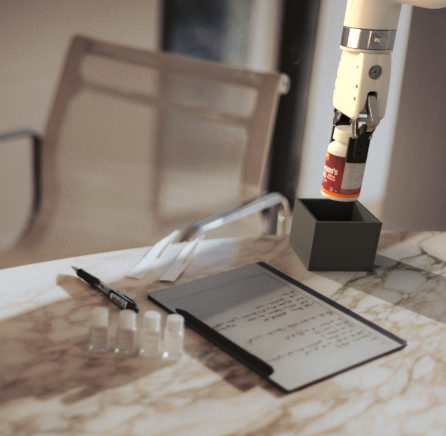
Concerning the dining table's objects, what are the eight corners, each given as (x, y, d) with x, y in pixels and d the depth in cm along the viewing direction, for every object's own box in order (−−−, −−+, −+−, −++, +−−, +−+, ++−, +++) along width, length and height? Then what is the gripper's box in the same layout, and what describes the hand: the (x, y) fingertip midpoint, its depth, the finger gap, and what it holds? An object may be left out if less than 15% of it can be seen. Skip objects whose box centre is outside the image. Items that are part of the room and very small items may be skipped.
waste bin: (347, 243, 112) (356, 198, 109) (372, 271, 102) (382, 223, 99) (288, 242, 112) (295, 197, 108) (307, 270, 102) (315, 222, 98)
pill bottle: (312, 190, 104) (323, 124, 100) (345, 188, 106) (357, 123, 101) (333, 204, 99) (345, 134, 95) (367, 201, 100) (380, 133, 96)
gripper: (420, 49, 85) (393, 174, 92) (368, 34, 101) (349, 141, 108) (366, 47, 85) (343, 173, 92) (323, 33, 101) (306, 140, 108)
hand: (346, 155), depth 100 cm, fingers closed on pill bottle, 6 cm apart
